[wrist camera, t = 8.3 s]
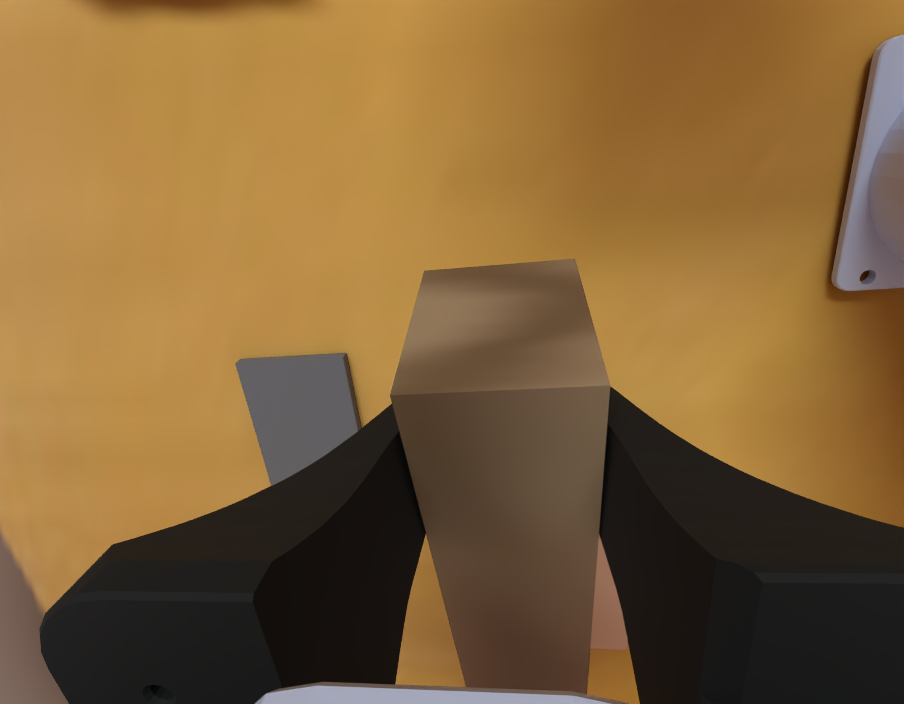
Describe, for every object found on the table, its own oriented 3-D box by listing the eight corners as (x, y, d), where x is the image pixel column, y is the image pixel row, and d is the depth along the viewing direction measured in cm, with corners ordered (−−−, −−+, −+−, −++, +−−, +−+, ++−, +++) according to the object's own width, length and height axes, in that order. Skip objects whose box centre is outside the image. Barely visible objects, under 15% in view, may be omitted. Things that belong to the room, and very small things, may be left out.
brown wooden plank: (574, 258, 11) (609, 385, 8) (569, 558, 18) (586, 698, 15) (423, 270, 12) (390, 395, 8) (474, 557, 19) (468, 694, 15)
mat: (346, 352, 22) (342, 357, 21) (390, 574, 27) (388, 582, 26) (240, 359, 22) (235, 363, 22) (303, 574, 27) (299, 581, 27)
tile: (632, 540, 22) (627, 650, 25) (622, 510, 24) (619, 615, 27) (454, 539, 23) (468, 644, 26) (459, 511, 25) (471, 611, 28)
